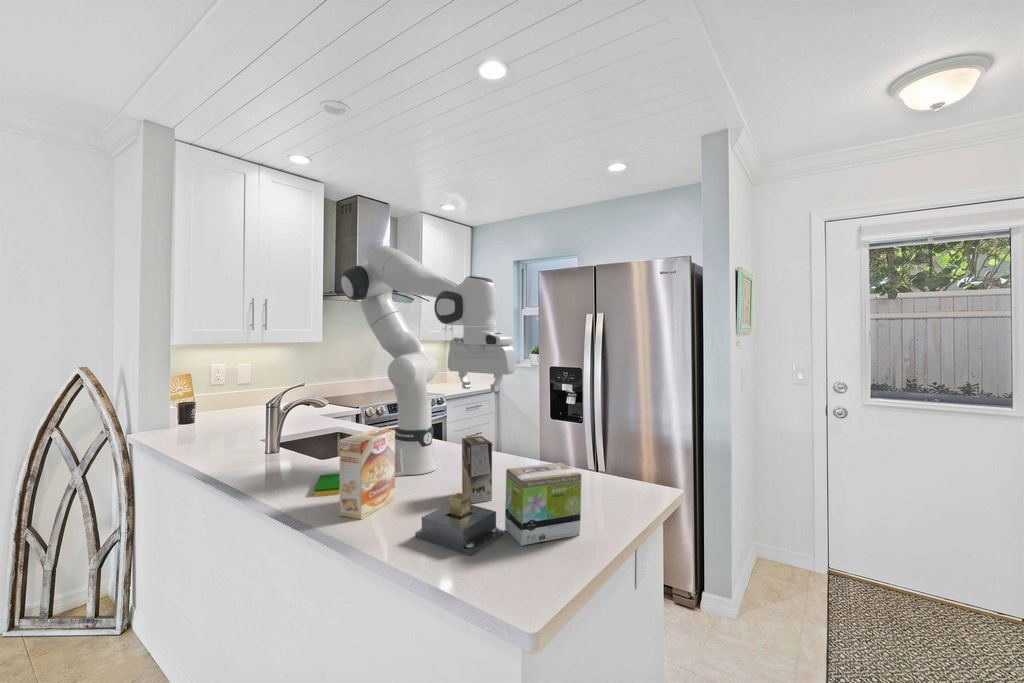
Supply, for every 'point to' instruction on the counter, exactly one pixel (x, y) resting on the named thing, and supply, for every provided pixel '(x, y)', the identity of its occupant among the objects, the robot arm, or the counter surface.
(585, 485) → the counter surface
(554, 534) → the tea box
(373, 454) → the coffeecake box
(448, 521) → the grey square socket block
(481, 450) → the coffee box
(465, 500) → the wooden square peg
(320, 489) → the dish sponge
